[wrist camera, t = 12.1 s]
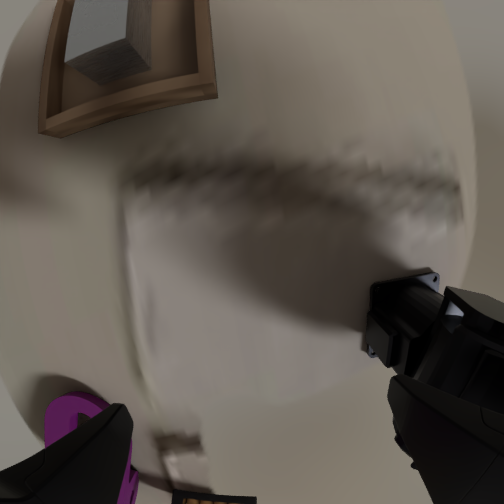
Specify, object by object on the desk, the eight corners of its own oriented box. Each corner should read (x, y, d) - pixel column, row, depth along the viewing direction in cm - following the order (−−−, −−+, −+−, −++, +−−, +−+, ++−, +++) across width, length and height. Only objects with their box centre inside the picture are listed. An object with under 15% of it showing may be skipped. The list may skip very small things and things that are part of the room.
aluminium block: (151, 69, 15) (125, 37, 10) (100, 85, 15) (64, 62, 10) (152, -7, 14) (134, -43, 9) (106, 8, 14) (80, -22, 9)
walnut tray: (206, -30, 14) (203, -51, 11) (217, 98, 17) (213, 82, 14) (73, 10, 14) (58, -3, 11) (60, 138, 17) (38, 133, 14)
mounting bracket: (80, 369, 28) (74, 476, 23) (46, 380, 20) (50, 503, 15) (151, 394, 29) (136, 501, 24) (132, 417, 20) (122, 535, 16)
